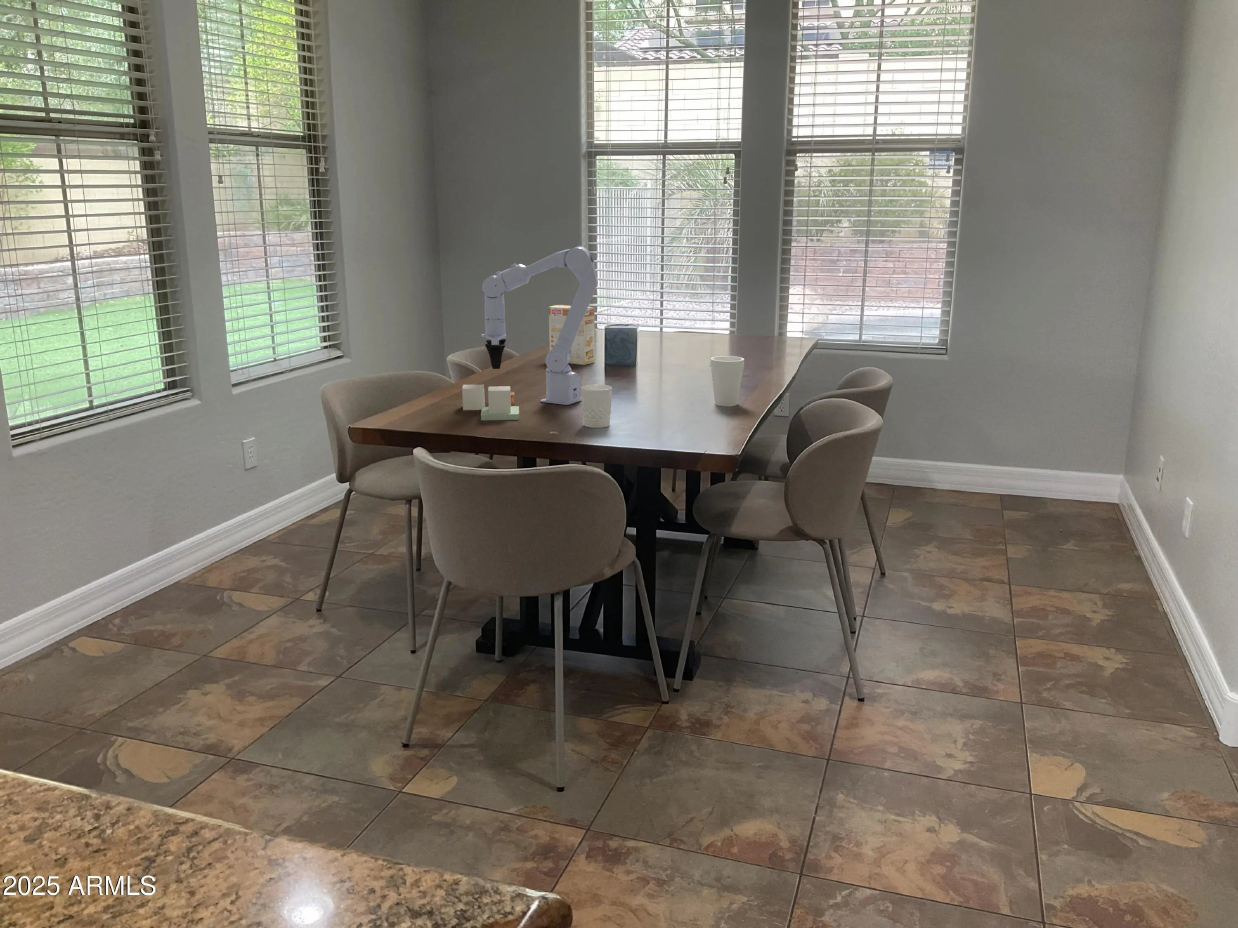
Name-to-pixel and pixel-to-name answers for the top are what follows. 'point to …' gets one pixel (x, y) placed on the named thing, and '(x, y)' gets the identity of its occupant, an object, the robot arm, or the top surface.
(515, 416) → the coaster
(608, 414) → the white cup
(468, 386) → the cover
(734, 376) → the foam cup
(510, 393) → the orange brown block
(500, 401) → the cream matte cube
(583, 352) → the coffeecake box
